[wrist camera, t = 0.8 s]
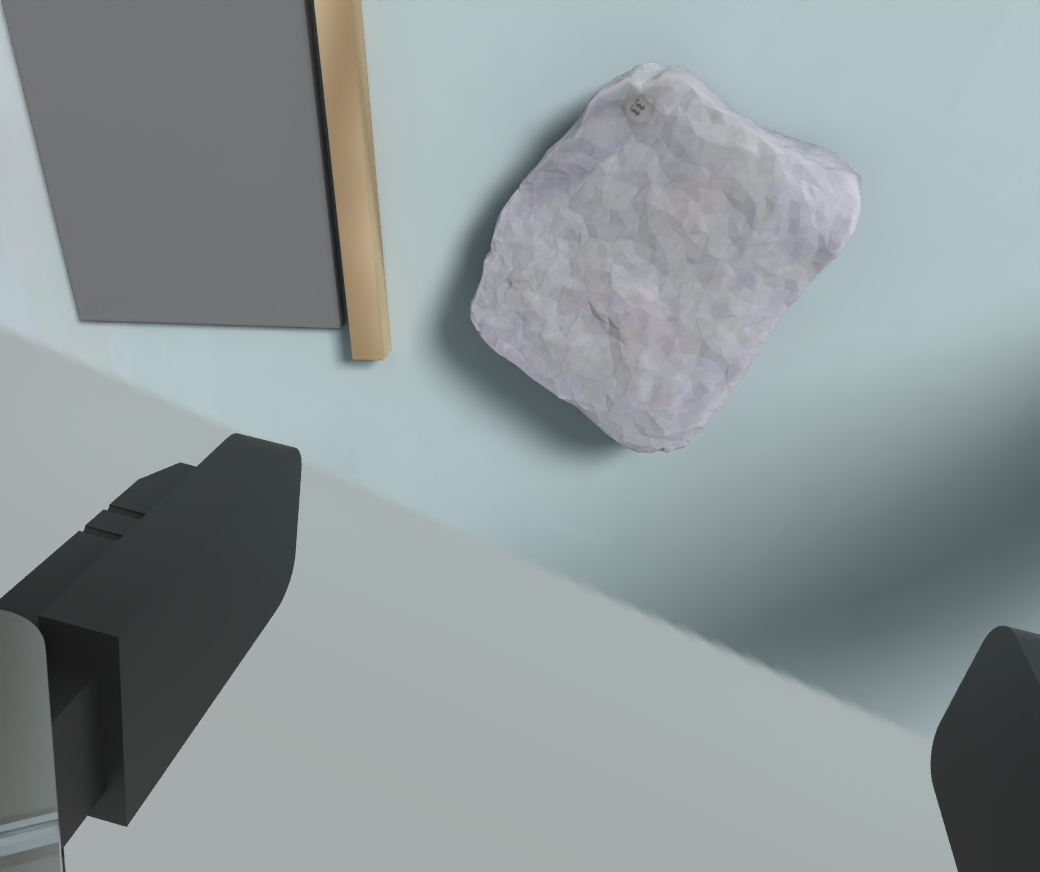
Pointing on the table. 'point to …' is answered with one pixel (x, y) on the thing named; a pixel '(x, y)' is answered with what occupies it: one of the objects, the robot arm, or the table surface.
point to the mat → (183, 157)
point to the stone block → (658, 254)
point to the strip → (354, 174)
